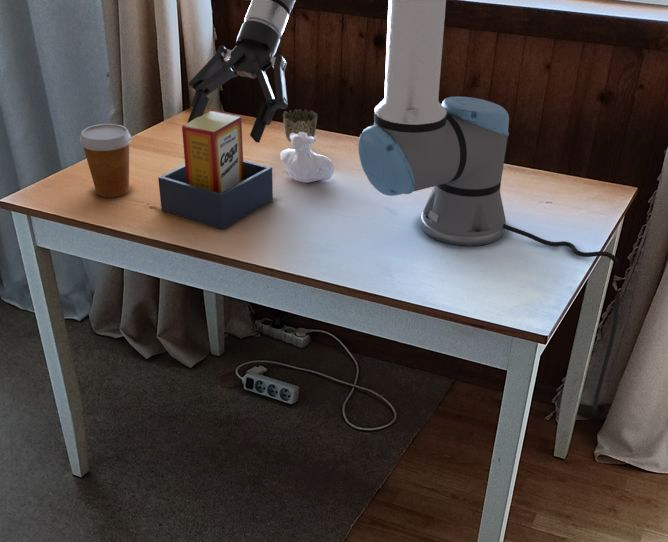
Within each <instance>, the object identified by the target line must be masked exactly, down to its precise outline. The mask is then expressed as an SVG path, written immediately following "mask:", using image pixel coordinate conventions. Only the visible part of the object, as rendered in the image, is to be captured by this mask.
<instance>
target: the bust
mask: <svg viewBox="0 0 668 542" xmlns="http://www.w3.org/2000/svg"><path fill="white" fill-rule="evenodd" d="M289 138H290V139H291V143H290V145H291V148H285V149H283V150H282V151H281V152H280V155H279V156H280V161H281V163H282V165H283V167H284V168H285V170H286V173H287V175H288V176H289V177H291V178H292V179H293V180H295V181H297V182H299V183H305V184H306V183H313V182H316V181H323V180H325V181H328V180H330V179H331V178H332V177H333V175H334V172H335V165H334V162H333V161H332V160H331V158H329V157H328V156H326V155H322V154H319V153H316V152H315V151H314V150H313V149H312V147H313V145H314V144H315V143H316V142H317V137H316V136H314V137H312V136H309V137H308V136H307V133H303V132H299V133H298V134H295V133H291V134H290V137H289ZM292 148H295V149H292Z"/></svg>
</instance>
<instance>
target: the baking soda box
mask: <svg viewBox="0 0 668 542" xmlns="http://www.w3.org/2000/svg"><path fill="white" fill-rule="evenodd" d="M187 122H188V121H187ZM187 122H186V123H185V124H183V125H182V126H181V131H182V132H181V133H182V144H183V145H182V146H183V157H184V165H185V169H186V181H187V184H190V185H193V186H197V187H200V188H203V189H207V190H210V191H214V192H217V193H222V192H224V191H226V190H227V189H229V188H231V187H233V186H235V185H237V184H238V183H240V182H242V181H244V169H243V160H244V152H243V151H244V149H243V147H244V146H243V126H242V125H243V123H242V116H241V115H240V116H239V115H234V114H230V113H224V112H219V111H215V110H214V111H213V110H210V111H208V112H206V113H204V114H203V115H202V116H200V117H197V118H195V119H194V120H192V121H190V122H188V123H187Z"/></svg>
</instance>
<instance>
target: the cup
mask: <svg viewBox="0 0 668 542" xmlns="http://www.w3.org/2000/svg"><path fill="white" fill-rule="evenodd" d="M282 121H283V129H284V134H285V135H284V136H285V139H286V140H287V141H288V143H290V144H291V139H290V138H289V137H290V134H291V133H295V134H298V133H299V132H303V133H307V136H308V137H309V136H312V137H316V136H315V135H316V130H317V124H318V123H317V121H318V114H317V112H316V111H315V112H314V110H312V109H310V110H309V111H308V110H307V109H306V108H305V109H304V110H302V109H301V108H299V109H298V110H297V109H296V108H295V109H294V111H292V110H291V109H289V110H288V111H283V113H282ZM291 149H295V148H292V147H291Z"/></svg>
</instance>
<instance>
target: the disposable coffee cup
mask: <svg viewBox="0 0 668 542" xmlns="http://www.w3.org/2000/svg"><path fill="white" fill-rule="evenodd" d="M131 140H132V135H131V133H130V132H129V130H128V128H127V127H126V126H124V125H121V124H117V123H100V124H99V123H98V124H94V125H90V126H87V127H85V128H84V129H82V130H81V132H80V136H79V142H80V144H81V146H82V147H83V152H84V154H85V158H86V161H87V164H88V168H89V172H90V176H91V179H92V182H93V186H94V189H95V193H96V194H97V195H98V196H100V197H102V198H103V197H104V198H117V197H122V196H124V195H126V194H128V193H129V192H130V143H131Z"/></svg>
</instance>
